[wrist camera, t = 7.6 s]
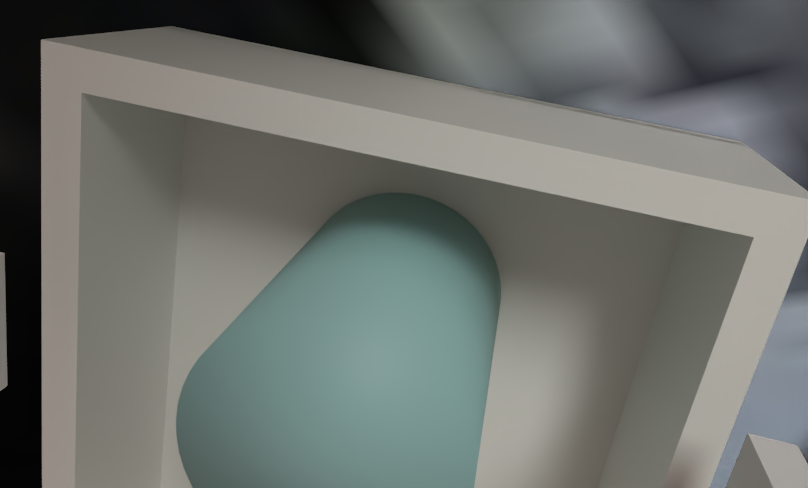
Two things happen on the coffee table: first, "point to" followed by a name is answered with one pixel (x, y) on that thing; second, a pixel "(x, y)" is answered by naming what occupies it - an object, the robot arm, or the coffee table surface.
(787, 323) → the coffee table surface
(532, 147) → the tote
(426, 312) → the teal capsule
